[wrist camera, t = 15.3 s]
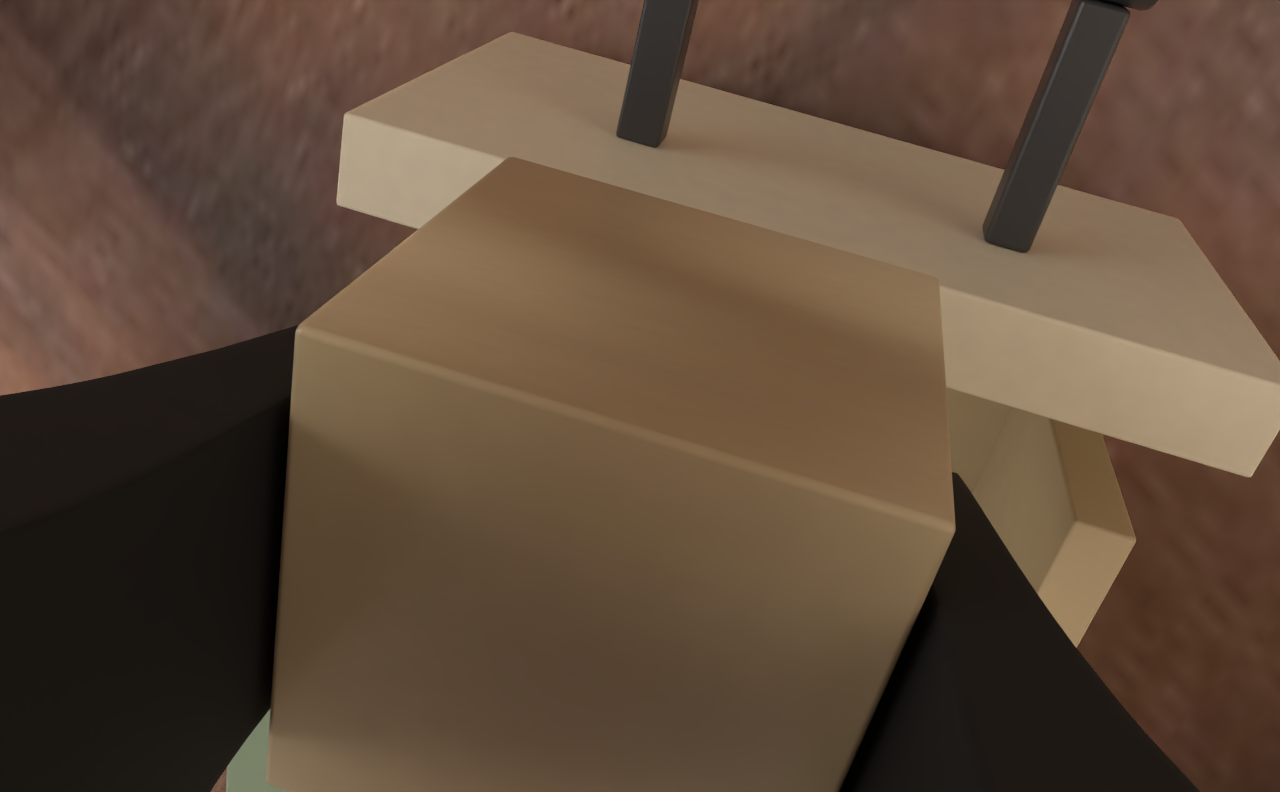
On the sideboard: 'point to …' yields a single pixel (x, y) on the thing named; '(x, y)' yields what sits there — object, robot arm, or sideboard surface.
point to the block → (604, 502)
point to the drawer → (898, 258)
